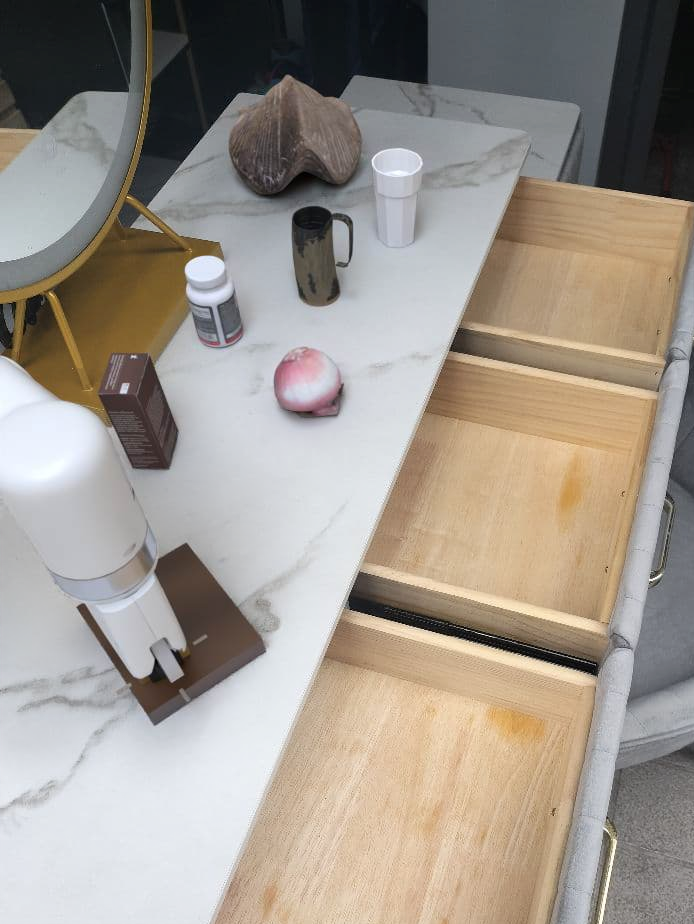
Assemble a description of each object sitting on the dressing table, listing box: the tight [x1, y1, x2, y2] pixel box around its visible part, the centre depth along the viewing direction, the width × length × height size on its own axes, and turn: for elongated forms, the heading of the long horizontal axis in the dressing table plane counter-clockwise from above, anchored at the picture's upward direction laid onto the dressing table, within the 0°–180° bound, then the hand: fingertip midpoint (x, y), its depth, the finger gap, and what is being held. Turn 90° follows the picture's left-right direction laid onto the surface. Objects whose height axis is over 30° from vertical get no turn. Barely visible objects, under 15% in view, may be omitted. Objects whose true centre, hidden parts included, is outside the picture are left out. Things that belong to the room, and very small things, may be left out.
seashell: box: [228, 74, 363, 195], centre depth 119 cm, size 16×17×15 cm
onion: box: [273, 346, 345, 418], centre depth 93 cm, size 8×8×7 cm
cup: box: [371, 147, 424, 249], centre depth 110 cm, size 7×7×11 cm
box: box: [97, 352, 179, 470], centre depth 87 cm, size 6×4×12 cm
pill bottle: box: [184, 255, 244, 348], centre depth 99 cm, size 6×6×10 cm
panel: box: [75, 542, 267, 727], centre depth 77 cm, size 15×13×3 cm
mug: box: [291, 205, 354, 307], centre depth 102 cm, size 8×6×12 cm
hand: (161, 662), depth 74 cm, fingers closed
